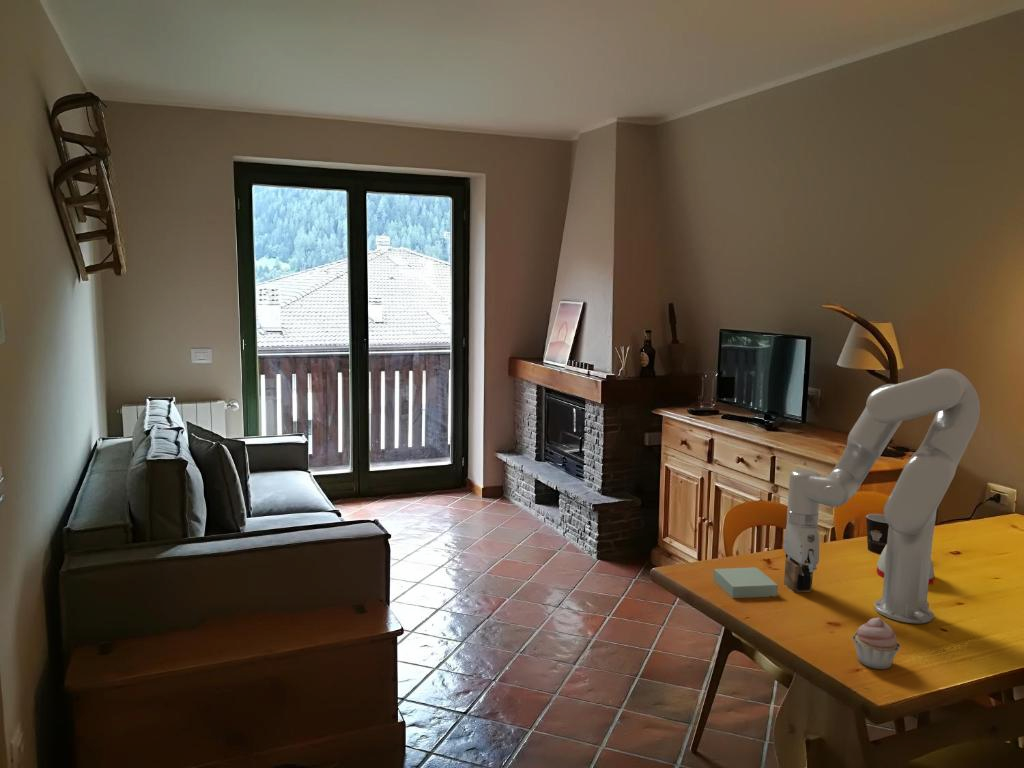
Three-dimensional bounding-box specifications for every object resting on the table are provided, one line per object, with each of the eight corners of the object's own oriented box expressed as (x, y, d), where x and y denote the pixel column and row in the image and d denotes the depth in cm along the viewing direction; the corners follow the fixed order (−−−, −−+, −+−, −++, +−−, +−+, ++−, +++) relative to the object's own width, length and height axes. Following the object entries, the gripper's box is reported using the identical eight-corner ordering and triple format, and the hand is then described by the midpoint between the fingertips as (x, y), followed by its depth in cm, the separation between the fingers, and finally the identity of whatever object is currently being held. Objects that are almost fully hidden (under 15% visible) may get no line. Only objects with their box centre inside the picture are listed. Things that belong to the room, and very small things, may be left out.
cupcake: (884, 678, 151) (889, 631, 150) (841, 659, 159) (844, 614, 157) (908, 665, 157) (912, 620, 155) (865, 648, 164) (868, 604, 163)
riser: (777, 596, 191) (777, 584, 191) (732, 598, 189) (732, 586, 189) (755, 578, 203) (756, 567, 202) (713, 579, 201) (713, 569, 201)
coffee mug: (857, 547, 229) (859, 515, 228) (880, 544, 231) (882, 513, 230) (886, 560, 218) (889, 527, 217) (910, 557, 220) (913, 524, 219)
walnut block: (811, 591, 195) (813, 565, 194) (793, 592, 194) (795, 566, 193) (801, 583, 199) (803, 558, 199) (783, 584, 199) (785, 559, 198)
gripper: (834, 527, 186) (829, 598, 189) (799, 507, 203) (794, 572, 205) (805, 528, 185) (801, 599, 188) (772, 508, 202) (768, 573, 204)
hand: (797, 584), depth 197 cm, fingers closed on walnut block, 5 cm apart
